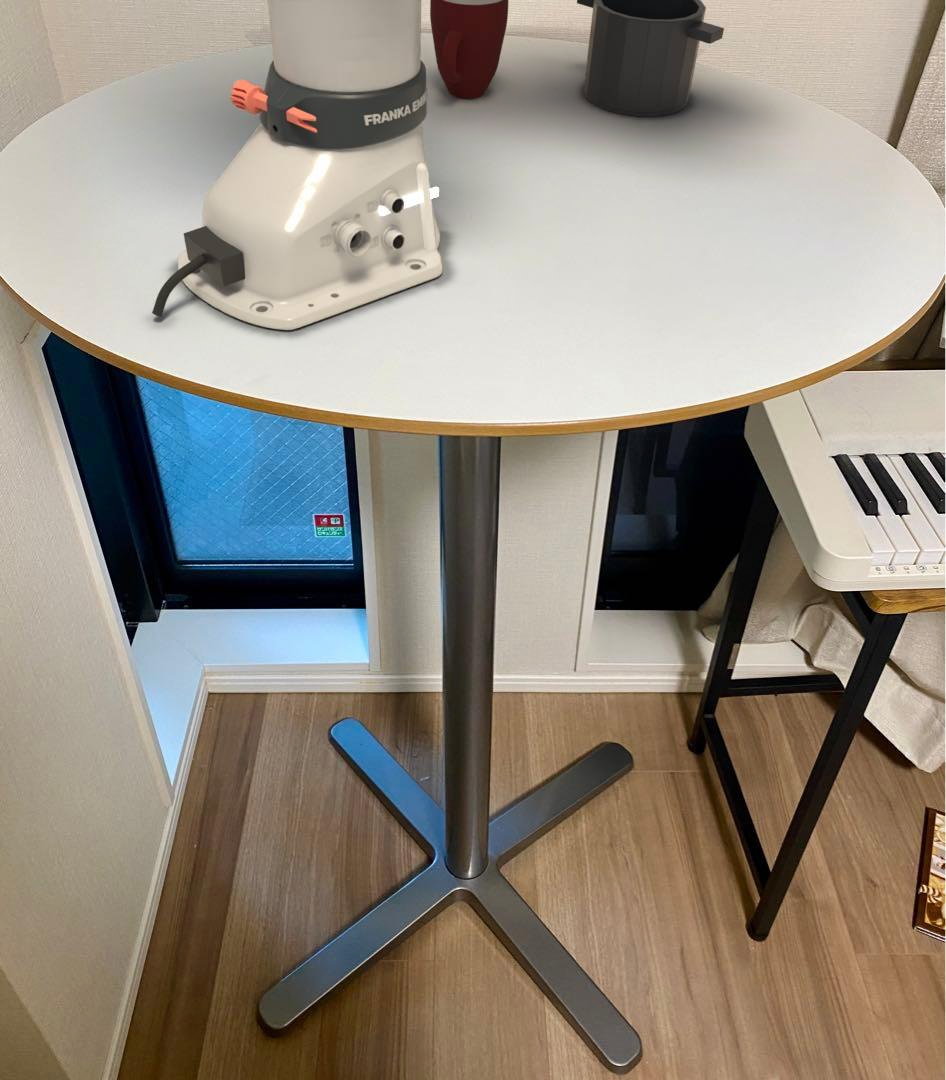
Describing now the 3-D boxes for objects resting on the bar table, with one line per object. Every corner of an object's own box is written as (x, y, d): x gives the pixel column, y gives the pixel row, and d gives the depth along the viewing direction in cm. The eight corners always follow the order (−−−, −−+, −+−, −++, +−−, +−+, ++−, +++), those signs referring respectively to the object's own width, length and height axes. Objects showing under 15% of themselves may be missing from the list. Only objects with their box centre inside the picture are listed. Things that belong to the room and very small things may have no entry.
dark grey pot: (671, 133, 103) (689, 36, 96) (544, 88, 110) (552, -5, 103) (728, 103, 109) (748, 10, 102) (604, 62, 116) (615, -28, 110)
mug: (492, 119, 104) (497, 16, 96) (416, 111, 104) (416, 8, 97) (508, 82, 111) (514, -16, 104) (438, 74, 112) (439, -24, 105)
